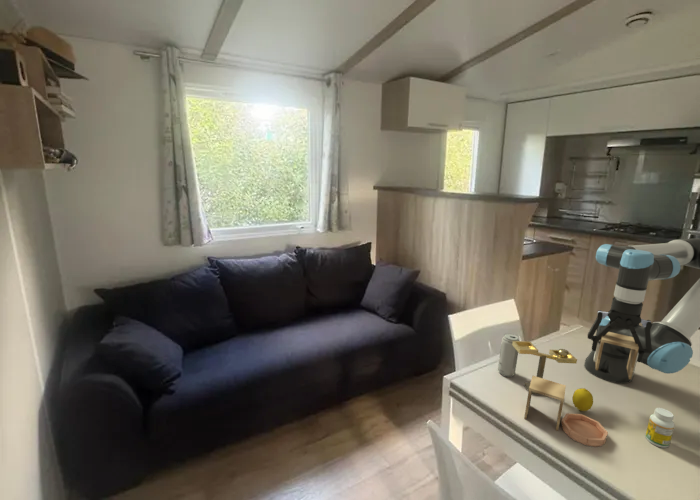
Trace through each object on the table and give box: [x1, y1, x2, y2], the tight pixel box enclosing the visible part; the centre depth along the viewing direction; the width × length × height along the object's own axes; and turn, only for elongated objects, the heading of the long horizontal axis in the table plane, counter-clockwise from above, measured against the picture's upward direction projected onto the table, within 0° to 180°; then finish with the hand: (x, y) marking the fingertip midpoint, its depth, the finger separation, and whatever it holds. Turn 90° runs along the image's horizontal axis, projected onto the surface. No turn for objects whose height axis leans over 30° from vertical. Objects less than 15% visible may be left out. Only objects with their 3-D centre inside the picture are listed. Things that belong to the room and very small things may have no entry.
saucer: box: [560, 412, 609, 448], centre depth 106 cm, size 11×11×2 cm
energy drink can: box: [497, 333, 520, 378], centre depth 134 cm, size 6×6×15 cm
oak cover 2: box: [595, 332, 639, 379], centre depth 116 cm, size 9×8×11 cm
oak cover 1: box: [524, 375, 567, 432], centre depth 111 cm, size 9×8×11 cm
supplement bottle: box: [644, 407, 675, 449], centre depth 102 cm, size 5×5×10 cm
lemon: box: [572, 387, 594, 412], centre depth 115 cm, size 6×6×8 cm
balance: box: [512, 340, 578, 396], centre depth 124 cm, size 19×6×17 cm, turn 88°
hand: (613, 364), depth 117 cm, fingers closed on oak cover 2, 9 cm apart
